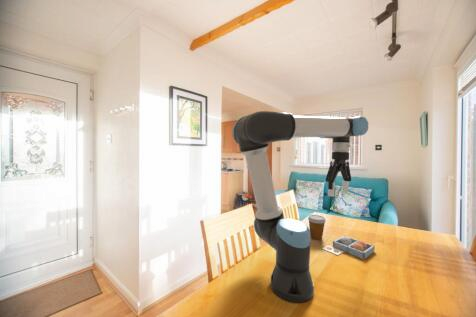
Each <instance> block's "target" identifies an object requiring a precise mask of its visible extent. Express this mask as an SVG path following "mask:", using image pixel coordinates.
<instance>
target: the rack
mask: <svg viewBox="0 0 476 317" xmlns="http://www.w3.org/2000/svg"><path fill="white" fill-rule="evenodd" d="M343 237H348V238H349V239H350V240H351V242H352V244H350V245H349V246H346V245H343V244H342V243H341V239H342V238H343ZM359 240H360V239H356V238H354V237H353V238H352V237H349V236H346V235H343V236H341V237H339V238H337V239H335V240H333V241H332V247H334V248H336V249H339V250H341V251H344V252H343V253H347V254H349V255H352V256H354V257H357V258H360V259H362V260H365V259H367V258H368V257H370V256H371V255H372V254H373V253H375V245H373V244H370V243H368V242H365V243H366V244H367V249H366V250H365V251H364V252H362V251H359V250H357V249H354V248H352V246H353V245H354V244H355V243H356V242H357V241H359Z"/></svg>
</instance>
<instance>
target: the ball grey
mask: <svg viewBox="0 0 476 317" xmlns="http://www.w3.org/2000/svg"><path fill="white" fill-rule="evenodd" d="M342 237H343V236H342ZM348 237H349V236H347V237H343V238H342V239H341V243H342V244H343V245H346V246H349V245H350V244H352V242H351V240H350V239H349V238H348Z"/></svg>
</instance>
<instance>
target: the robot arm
mask: <svg viewBox="0 0 476 317" xmlns="http://www.w3.org/2000/svg"><path fill="white" fill-rule="evenodd" d="M368 131H369V121H368V119H367V117H365V116H354V117H353V116H352V117H341V116H340V117H338V116H334V117H333V116H331V117H330V116H308V115H307V116H306V115H294V114H293V113H291V112H285V111H284V112H281V111H268V110H264V111H263V110H260V111H256V112H252V113H251V114H247V115H244V116H241V117H240V118H239V119H237V120H236V121H235V123H234V124H233V126H232V131H231V133H232V138H233V140H234V142H235V143H236V144H238V147H239V151H240V153H241V154H242V155H244V156H245V161H246V165H247V166H246V167H247V169H248V174H249V178H250V179H249V180H250V183H251V186H252V192H253V195H254V196H253V197H254V199H255V200H254V201H255V205H256V209H257V210H256V212H255V214H254V216H255V219H254V221H253V228H254V231H255V233H256V235H257V236H258V237H259V238H260V239H261V240H262V241H263V242H265V243H266V244H267V245H269V247H271V248H272V249H274V250H275V265H274V267H273V270H272V273H271V276H270V283H269V284H270V289H271V291H272V292H273V293H274V294H275V295H276V296H277V297H279V298H280V299H281V300H284V301H287V302H289V303H295V304H296V303H297V304H300V303H301V304H302V303H307V302H308V301H310V300H311V299H312V298H313V296H314V295H315V294H314V293H315V284H314V282H313V279H312V274H311V272H310V262H311V261H310V260H311V258H310V257H311V256H310V255H311V243H312V241H311V240H312V238H311V237H310V228H309V226H307V224H305V223H304V222H303V221H300V220H298V219H295V218H291V217H290V218H287V217H286V218H285V215H284V211H283V209H282V208H281V207H280V206H278V202H277V196H276V192H275V187H274V182H273V178H272V174H271V173H272V172H271V167H270V164H269V158H268V154H267V150H268V149H269V147H270V144H271V143H275V142H276V143H277V142H284V141H290V140H292V139H293V138H320V139H322V138H323V139H332V147H331V150H332V153H331V159H332V160H331V161H330V163H329V168H328V169H327V170H328V171H327V173H326V177H325V182H326V183H328V184H327V196H328V197H335V187H336V184H335V180H336V178H337V176H338V174H339V172H340V174H341V176H342V179H343V180H342V184H341V186H342V187H341V194H344V195H349V185H350V184H349V182H351V181H352V175H351V169H350V161H349V160H350V148H351V143H350V141H351V140H350V139H351V137H358V136H359V137H360V136H364V135H365V134H367V132H368ZM333 160H334V161H333Z"/></svg>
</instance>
